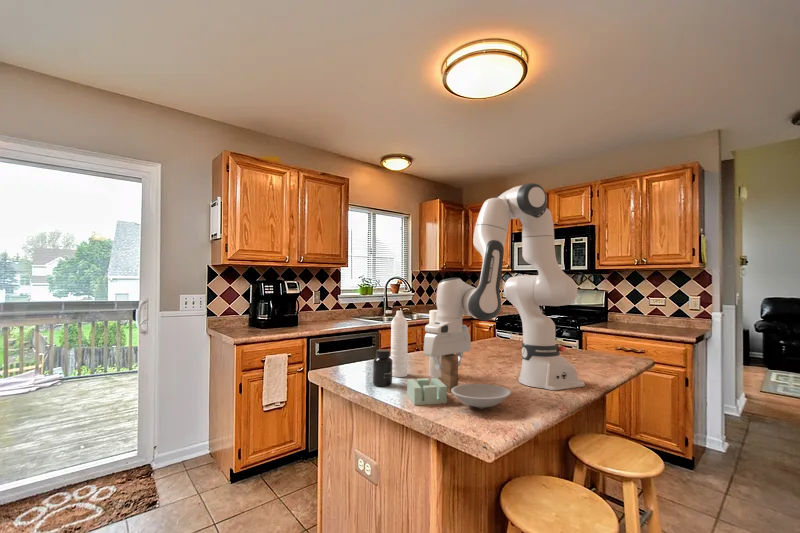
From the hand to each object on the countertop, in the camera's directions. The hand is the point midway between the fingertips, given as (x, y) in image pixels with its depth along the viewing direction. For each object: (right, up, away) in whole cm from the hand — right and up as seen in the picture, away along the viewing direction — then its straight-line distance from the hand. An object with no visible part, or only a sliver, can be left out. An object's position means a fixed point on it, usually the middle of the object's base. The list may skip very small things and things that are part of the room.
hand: (448, 367), depth 125 cm
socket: (-8, -8, -9) cm, 14 cm away
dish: (+8, -8, -16) cm, 19 cm away
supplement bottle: (-22, -8, +7) cm, 25 cm away
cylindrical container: (-1, -9, +19) cm, 21 cm away
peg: (+1, -8, 0) cm, 8 cm away
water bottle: (-18, -8, +19) cm, 27 cm away
